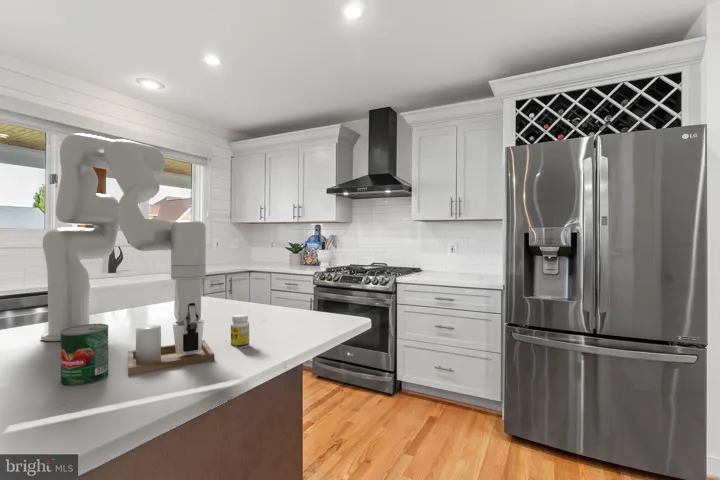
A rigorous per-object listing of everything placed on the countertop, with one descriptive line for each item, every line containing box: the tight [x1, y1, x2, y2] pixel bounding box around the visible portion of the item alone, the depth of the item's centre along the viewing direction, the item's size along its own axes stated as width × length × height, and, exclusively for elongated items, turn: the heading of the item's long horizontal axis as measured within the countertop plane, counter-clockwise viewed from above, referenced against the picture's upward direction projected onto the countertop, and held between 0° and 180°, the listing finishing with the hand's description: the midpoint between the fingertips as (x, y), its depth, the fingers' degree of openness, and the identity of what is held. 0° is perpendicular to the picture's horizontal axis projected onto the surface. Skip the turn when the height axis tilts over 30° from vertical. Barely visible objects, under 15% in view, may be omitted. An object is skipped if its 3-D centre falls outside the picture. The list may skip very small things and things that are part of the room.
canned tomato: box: [59, 323, 109, 387], centre depth 75 cm, size 8×8×11 cm
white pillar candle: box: [135, 324, 162, 365], centre depth 85 cm, size 5×5×8 cm
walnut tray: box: [127, 339, 215, 377], centre depth 87 cm, size 13×17×2 cm
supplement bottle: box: [230, 313, 250, 350], centre depth 99 cm, size 5×5×8 cm
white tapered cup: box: [172, 318, 205, 354], centre depth 89 cm, size 7×7×7 cm
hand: (188, 345), depth 89 cm, fingers closed on white tapered cup, 6 cm apart
